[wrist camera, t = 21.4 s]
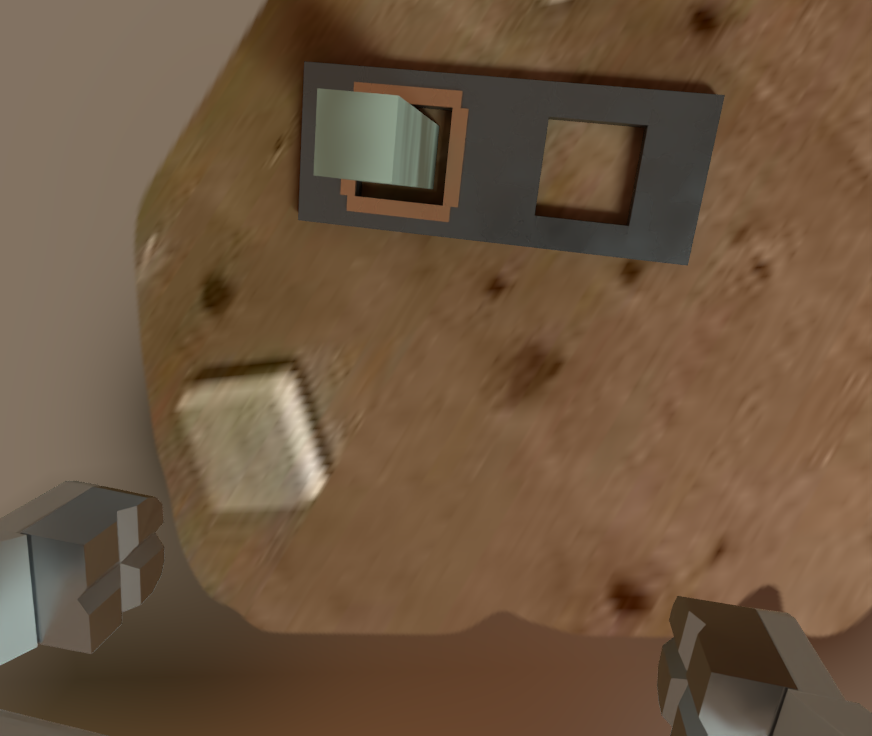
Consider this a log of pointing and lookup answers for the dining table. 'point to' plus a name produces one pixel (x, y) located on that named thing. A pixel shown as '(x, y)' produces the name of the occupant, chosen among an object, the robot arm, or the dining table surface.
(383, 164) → the peg
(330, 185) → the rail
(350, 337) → the dining table surface
